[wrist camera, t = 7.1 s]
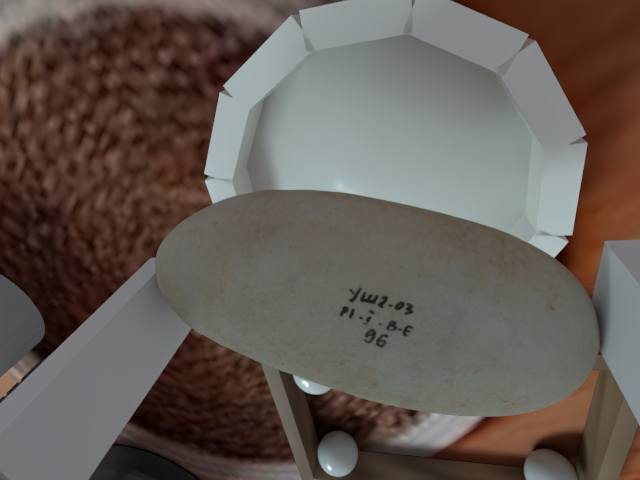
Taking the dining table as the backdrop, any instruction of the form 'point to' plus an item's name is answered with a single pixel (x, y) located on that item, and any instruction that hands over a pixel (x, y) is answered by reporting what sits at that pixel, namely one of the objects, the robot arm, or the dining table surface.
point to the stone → (383, 301)
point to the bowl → (405, 117)
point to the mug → (17, 324)
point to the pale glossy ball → (337, 453)
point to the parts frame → (456, 476)
